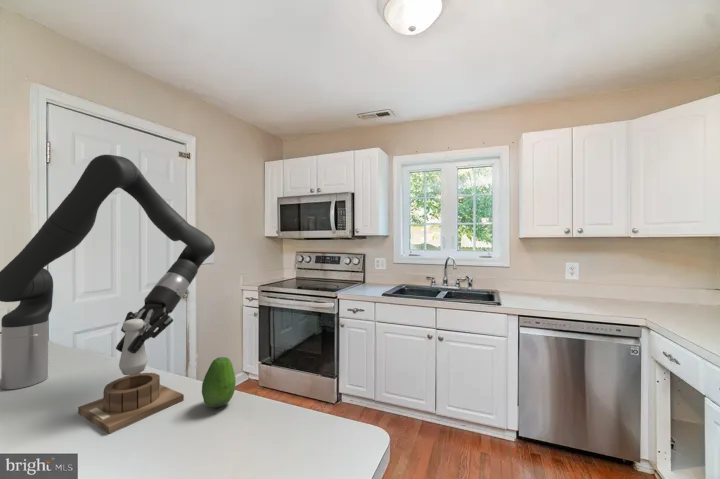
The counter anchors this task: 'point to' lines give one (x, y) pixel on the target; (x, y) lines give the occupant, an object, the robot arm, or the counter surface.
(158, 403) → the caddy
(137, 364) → the salt shaker
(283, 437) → the counter surface
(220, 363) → the avocado
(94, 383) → the counter surface
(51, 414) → the counter surface
